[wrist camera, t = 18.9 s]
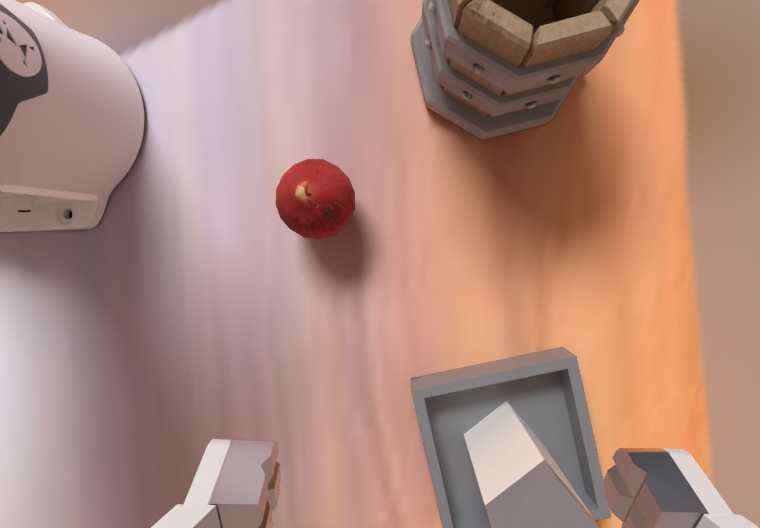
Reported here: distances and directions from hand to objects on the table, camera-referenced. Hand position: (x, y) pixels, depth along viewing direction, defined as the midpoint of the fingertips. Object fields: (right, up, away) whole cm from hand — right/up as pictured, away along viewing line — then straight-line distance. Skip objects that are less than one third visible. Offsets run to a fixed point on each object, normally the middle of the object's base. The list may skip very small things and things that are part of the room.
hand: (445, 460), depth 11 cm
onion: (-6, +10, +27) cm, 29 cm away
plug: (+8, -10, +26) cm, 29 cm away
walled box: (+9, -10, +26) cm, 29 cm away
